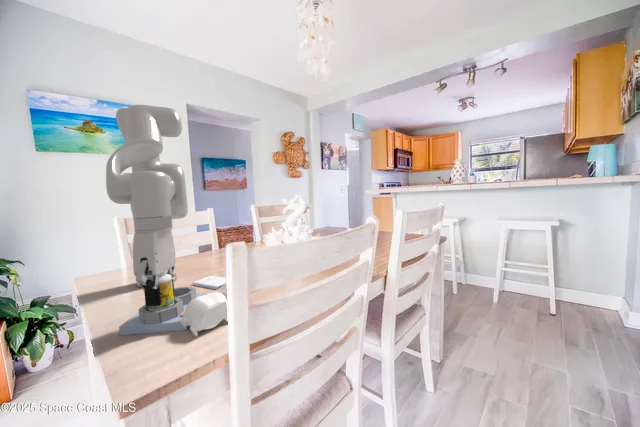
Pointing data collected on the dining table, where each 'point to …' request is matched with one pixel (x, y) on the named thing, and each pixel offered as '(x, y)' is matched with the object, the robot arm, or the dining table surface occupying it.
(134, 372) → the dining table surface
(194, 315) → the white figurine
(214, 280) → the external hard drive
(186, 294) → the socket board
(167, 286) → the supplement bottle
